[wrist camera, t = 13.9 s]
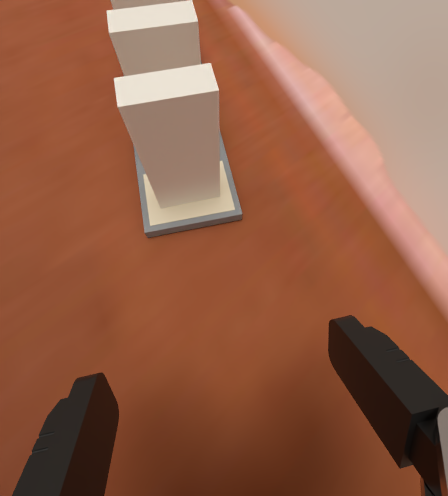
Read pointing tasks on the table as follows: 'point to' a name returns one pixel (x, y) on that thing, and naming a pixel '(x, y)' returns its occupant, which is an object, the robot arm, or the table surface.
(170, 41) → the domino
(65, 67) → the table surface
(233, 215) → the board
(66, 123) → the table surface
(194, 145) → the domino
